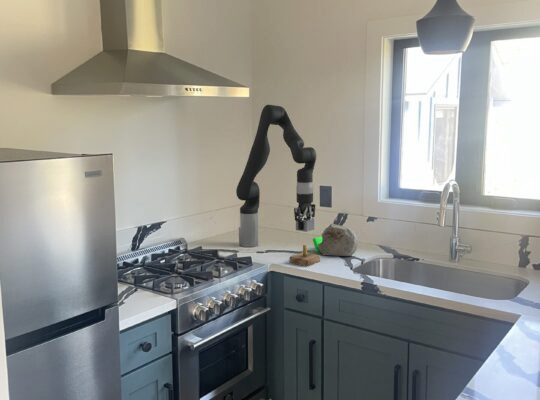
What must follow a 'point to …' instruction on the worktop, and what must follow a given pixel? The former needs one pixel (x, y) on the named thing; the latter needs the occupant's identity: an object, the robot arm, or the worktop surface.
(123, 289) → the worktop surface
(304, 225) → the link
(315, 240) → the bracket
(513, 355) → the worktop surface
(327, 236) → the stone
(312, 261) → the keeper
